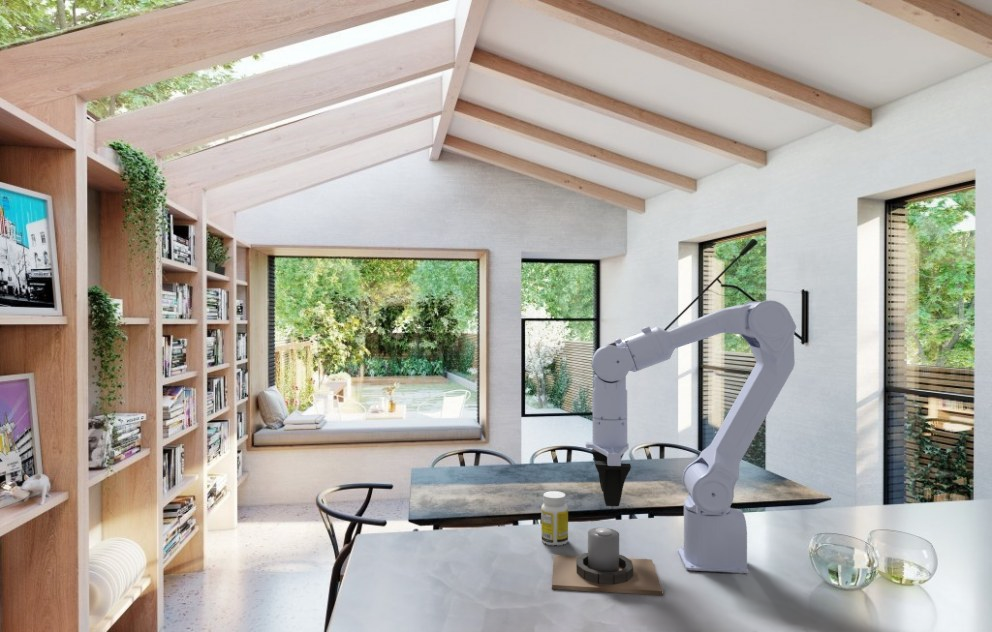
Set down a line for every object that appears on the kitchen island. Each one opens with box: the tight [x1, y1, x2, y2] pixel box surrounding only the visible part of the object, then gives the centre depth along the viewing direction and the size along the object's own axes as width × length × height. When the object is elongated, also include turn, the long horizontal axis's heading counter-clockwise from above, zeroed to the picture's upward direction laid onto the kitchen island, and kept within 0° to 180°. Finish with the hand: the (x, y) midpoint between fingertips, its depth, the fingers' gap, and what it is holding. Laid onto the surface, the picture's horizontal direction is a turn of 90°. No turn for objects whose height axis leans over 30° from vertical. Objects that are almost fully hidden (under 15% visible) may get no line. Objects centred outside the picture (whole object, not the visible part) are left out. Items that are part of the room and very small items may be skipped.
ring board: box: [551, 552, 664, 596], centre depth 92 cm, size 16×11×2 cm
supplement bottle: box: [540, 490, 569, 546], centre depth 106 cm, size 5×5×8 cm
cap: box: [587, 527, 620, 572], centre depth 92 cm, size 5×5×6 cm
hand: (609, 498), depth 99 cm, fingers open, 7 cm apart
